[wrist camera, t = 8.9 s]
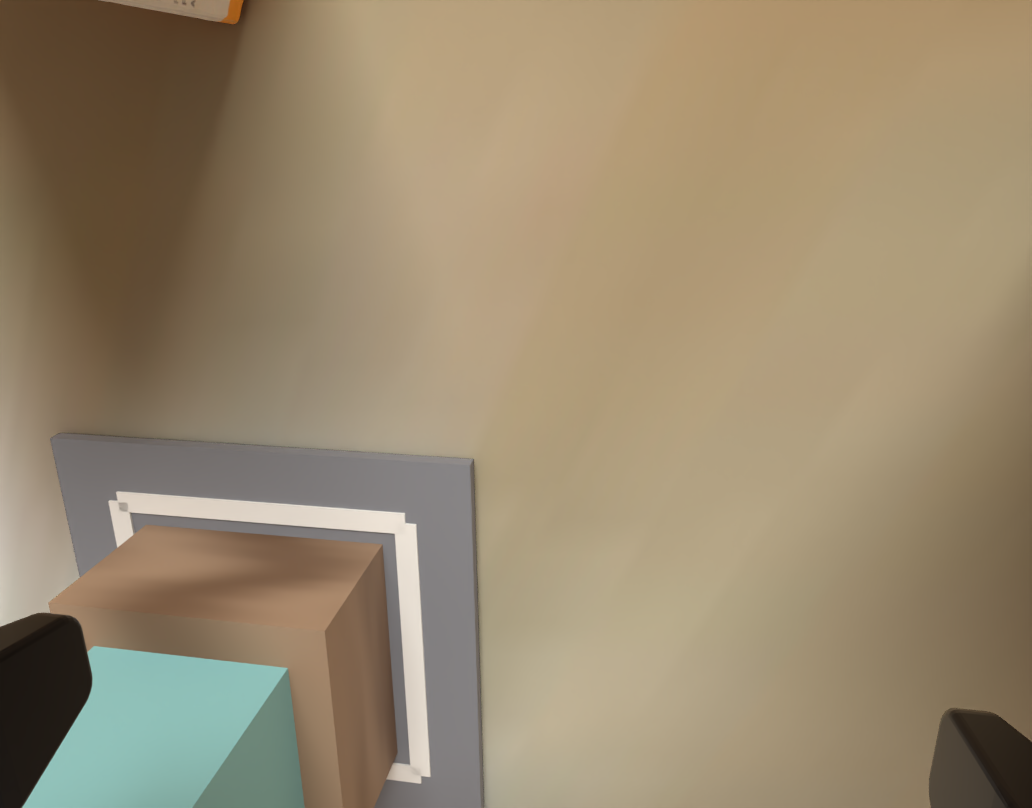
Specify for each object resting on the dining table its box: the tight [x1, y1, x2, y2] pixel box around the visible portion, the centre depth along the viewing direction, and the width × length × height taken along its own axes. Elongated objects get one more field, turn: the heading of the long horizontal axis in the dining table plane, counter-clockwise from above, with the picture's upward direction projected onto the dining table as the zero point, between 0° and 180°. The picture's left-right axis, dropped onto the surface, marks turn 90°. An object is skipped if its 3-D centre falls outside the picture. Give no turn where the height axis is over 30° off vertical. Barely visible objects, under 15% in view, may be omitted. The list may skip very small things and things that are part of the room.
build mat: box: [50, 433, 484, 808], centre depth 25 cm, size 12×12×1 cm
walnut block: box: [48, 525, 398, 808], centre depth 23 cm, size 7×7×4 cm
